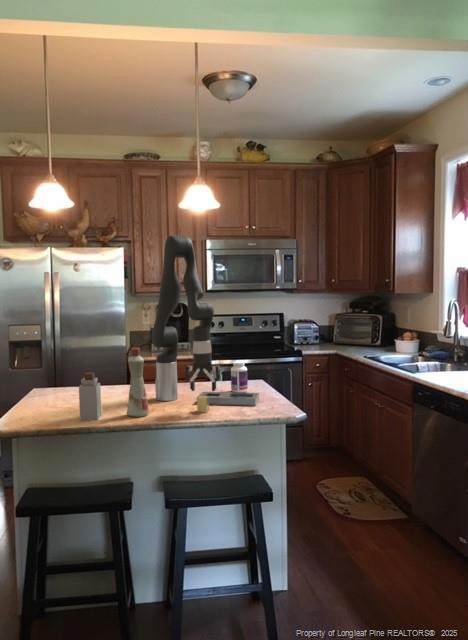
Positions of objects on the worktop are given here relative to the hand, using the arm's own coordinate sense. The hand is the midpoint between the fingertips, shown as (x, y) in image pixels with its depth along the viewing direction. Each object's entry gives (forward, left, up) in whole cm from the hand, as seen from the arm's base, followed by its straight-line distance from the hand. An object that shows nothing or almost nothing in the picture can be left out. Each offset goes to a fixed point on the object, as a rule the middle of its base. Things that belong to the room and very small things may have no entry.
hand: (203, 390), depth 211 cm
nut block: (0, 0, -9) cm, 9 cm away
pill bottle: (+8, +40, -9) cm, 42 cm away
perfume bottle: (-42, -16, -9) cm, 46 cm away
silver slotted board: (+7, +18, -9) cm, 21 cm away
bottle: (-25, -9, -9) cm, 28 cm away
